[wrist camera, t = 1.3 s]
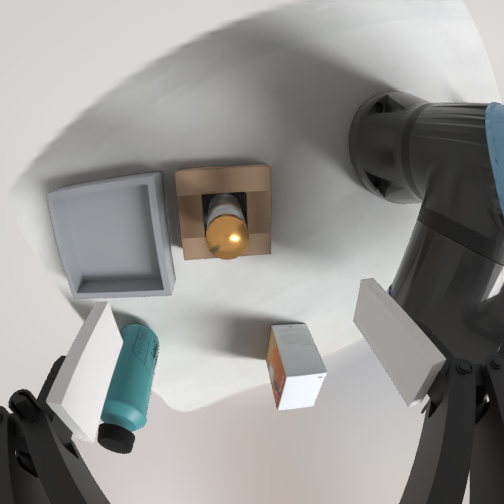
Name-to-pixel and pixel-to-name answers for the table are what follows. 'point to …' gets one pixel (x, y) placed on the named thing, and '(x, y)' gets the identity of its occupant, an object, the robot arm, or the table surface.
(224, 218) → the pin
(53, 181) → the table surface
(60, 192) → the tray
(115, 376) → the beverage bottle
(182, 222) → the block
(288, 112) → the table surface
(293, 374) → the small box
